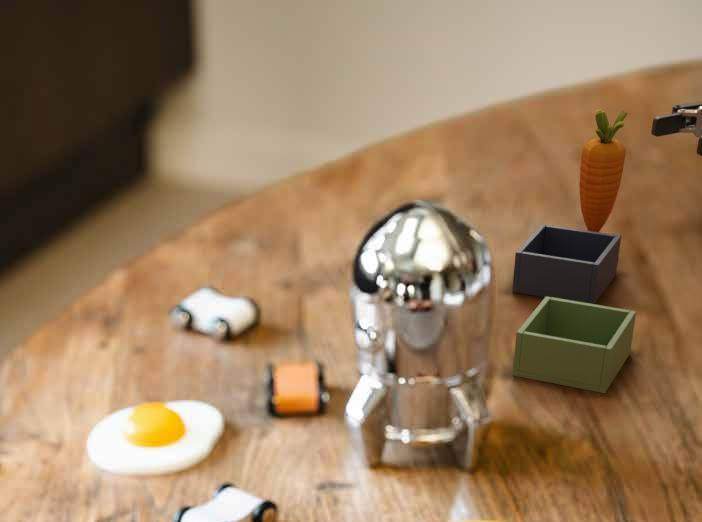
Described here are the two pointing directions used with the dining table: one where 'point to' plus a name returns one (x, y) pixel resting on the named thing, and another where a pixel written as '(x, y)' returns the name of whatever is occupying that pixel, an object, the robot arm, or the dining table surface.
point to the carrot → (601, 172)
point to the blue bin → (566, 263)
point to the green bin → (574, 344)
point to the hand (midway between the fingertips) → (676, 136)
